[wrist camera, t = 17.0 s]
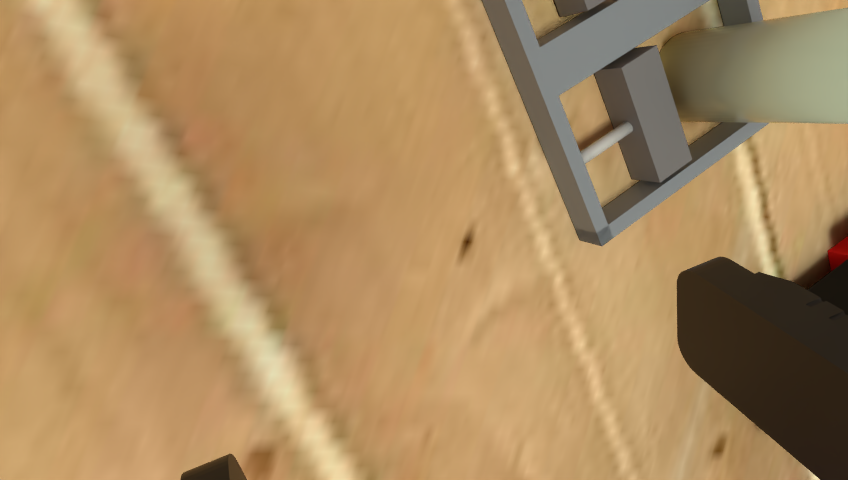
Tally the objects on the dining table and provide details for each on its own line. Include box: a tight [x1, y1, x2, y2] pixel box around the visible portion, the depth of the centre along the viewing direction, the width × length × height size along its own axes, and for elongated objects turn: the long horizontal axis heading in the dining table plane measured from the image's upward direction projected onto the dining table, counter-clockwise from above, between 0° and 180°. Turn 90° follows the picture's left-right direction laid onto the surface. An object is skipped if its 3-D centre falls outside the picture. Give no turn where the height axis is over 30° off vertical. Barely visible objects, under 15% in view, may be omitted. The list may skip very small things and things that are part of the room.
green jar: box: [659, 8, 848, 124], centre depth 37 cm, size 6×6×15 cm
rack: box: [482, 0, 769, 246], centre depth 39 cm, size 23×18×3 cm
